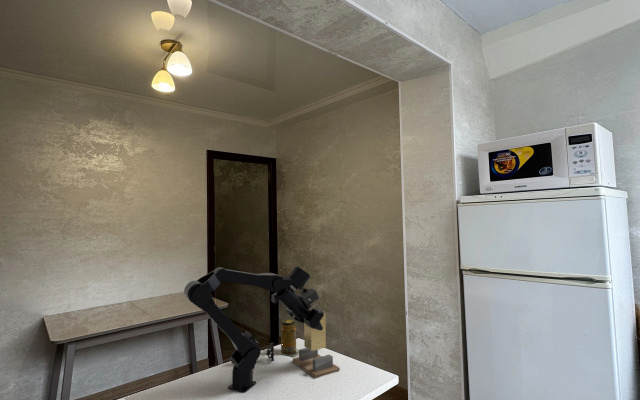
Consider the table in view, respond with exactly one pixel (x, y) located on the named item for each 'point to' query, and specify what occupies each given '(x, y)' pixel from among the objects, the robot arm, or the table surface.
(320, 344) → the brass block
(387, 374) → the table surface
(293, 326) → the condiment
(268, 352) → the valve
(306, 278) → the robot arm
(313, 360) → the vise
